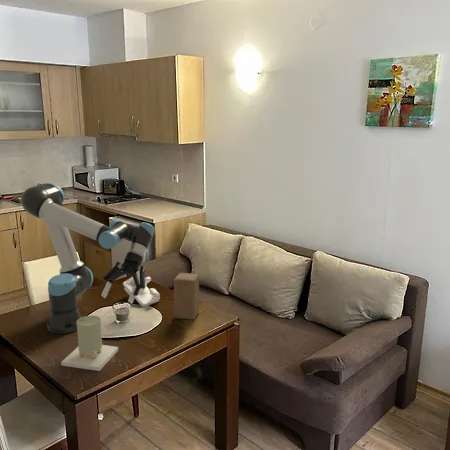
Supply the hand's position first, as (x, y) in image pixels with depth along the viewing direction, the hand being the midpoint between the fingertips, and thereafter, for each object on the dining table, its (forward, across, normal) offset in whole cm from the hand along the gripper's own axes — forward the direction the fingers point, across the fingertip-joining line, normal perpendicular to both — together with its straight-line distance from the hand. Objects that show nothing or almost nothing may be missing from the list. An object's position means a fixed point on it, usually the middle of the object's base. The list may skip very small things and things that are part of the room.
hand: (116, 299), depth 194 cm
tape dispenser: (-15, +14, -42) cm, 47 cm away
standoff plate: (+25, +1, -1) cm, 25 cm away
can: (+22, +1, +2) cm, 22 cm away
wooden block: (-10, -16, -37) cm, 42 cm away
